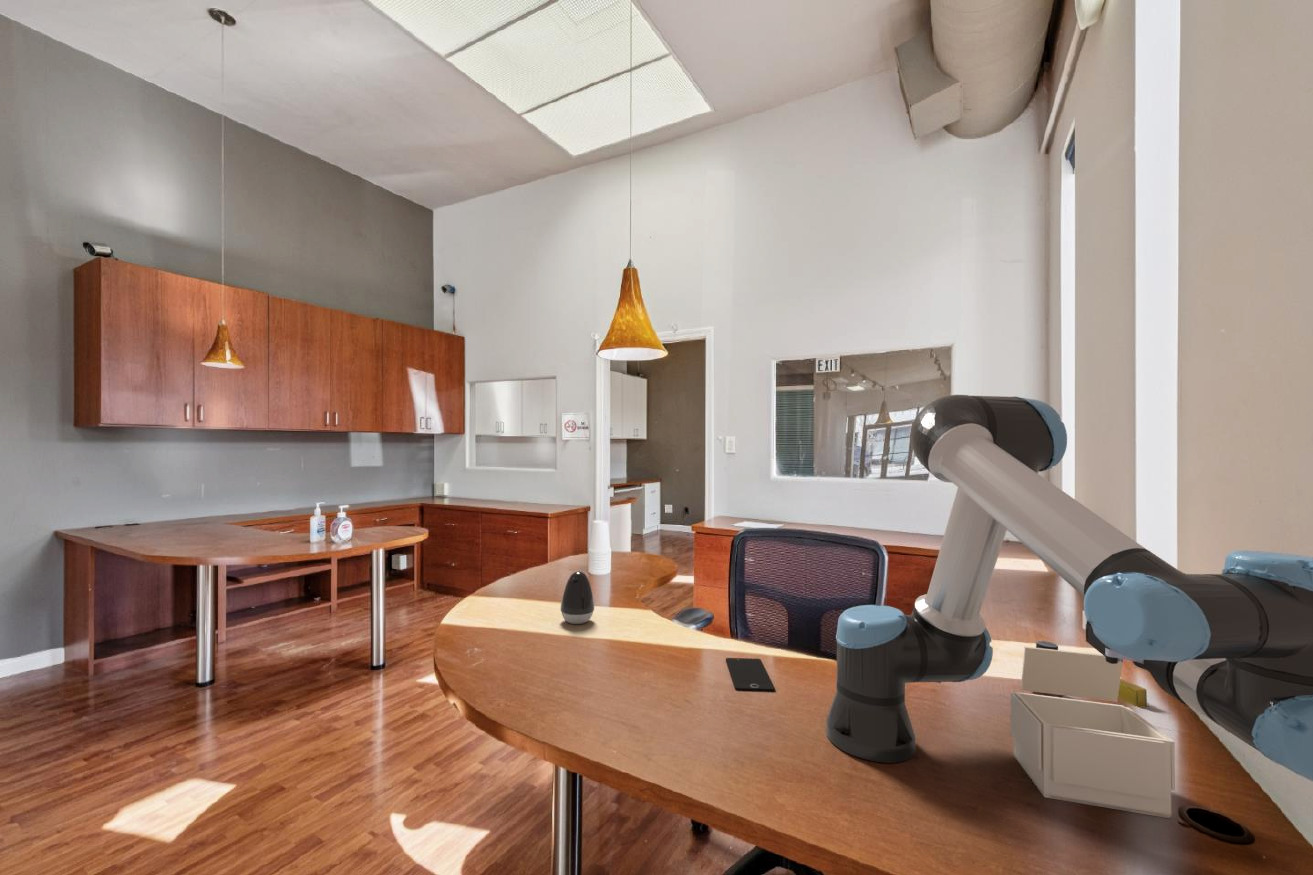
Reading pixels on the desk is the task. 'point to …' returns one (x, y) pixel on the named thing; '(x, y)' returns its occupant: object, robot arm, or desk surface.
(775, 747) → the desk surface
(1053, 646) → the supplement bottle
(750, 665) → the cell phone
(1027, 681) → the far flap
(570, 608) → the black egg shaped device
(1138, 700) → the medication box
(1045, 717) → the carton
